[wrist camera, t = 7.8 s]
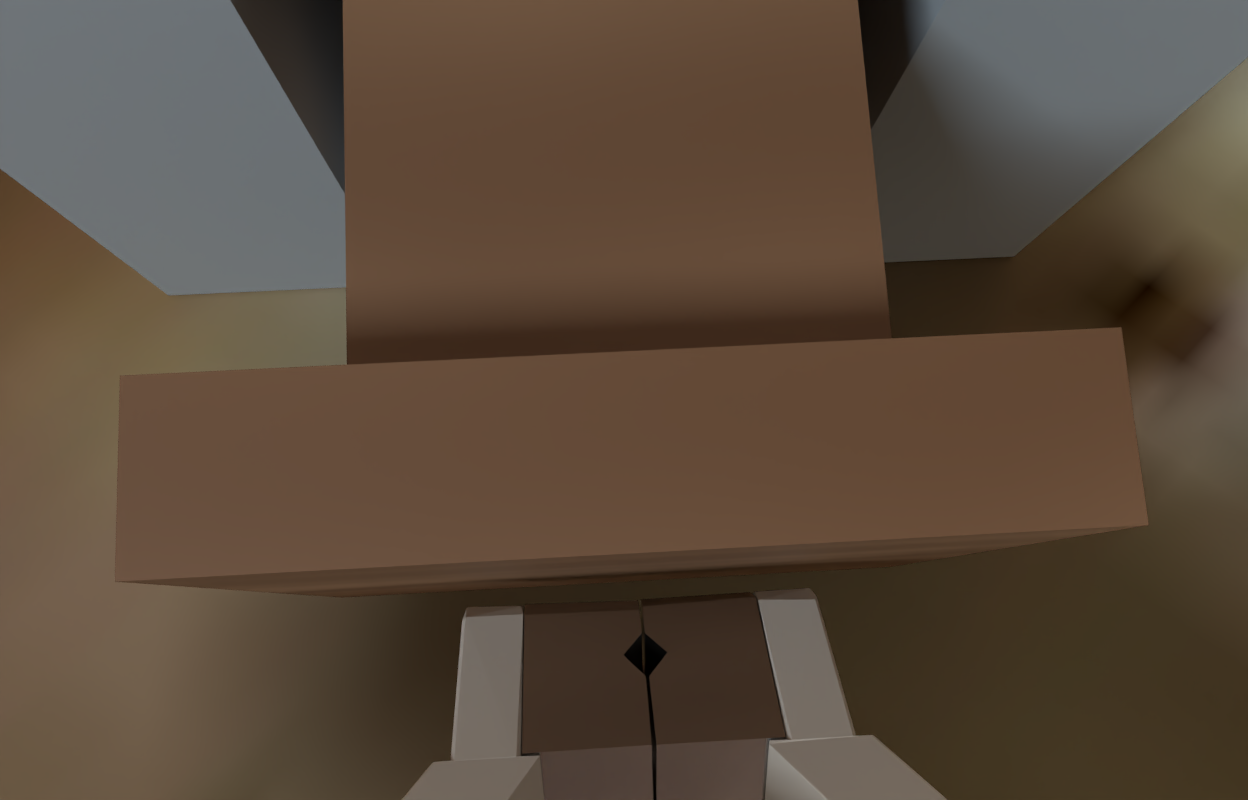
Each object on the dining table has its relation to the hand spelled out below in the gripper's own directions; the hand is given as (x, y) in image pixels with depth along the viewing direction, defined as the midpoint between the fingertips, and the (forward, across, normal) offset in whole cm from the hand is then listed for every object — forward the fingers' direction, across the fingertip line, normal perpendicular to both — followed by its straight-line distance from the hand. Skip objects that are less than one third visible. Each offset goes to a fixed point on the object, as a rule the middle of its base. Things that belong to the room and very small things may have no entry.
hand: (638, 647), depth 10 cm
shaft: (+8, 0, -5) cm, 10 cm away
